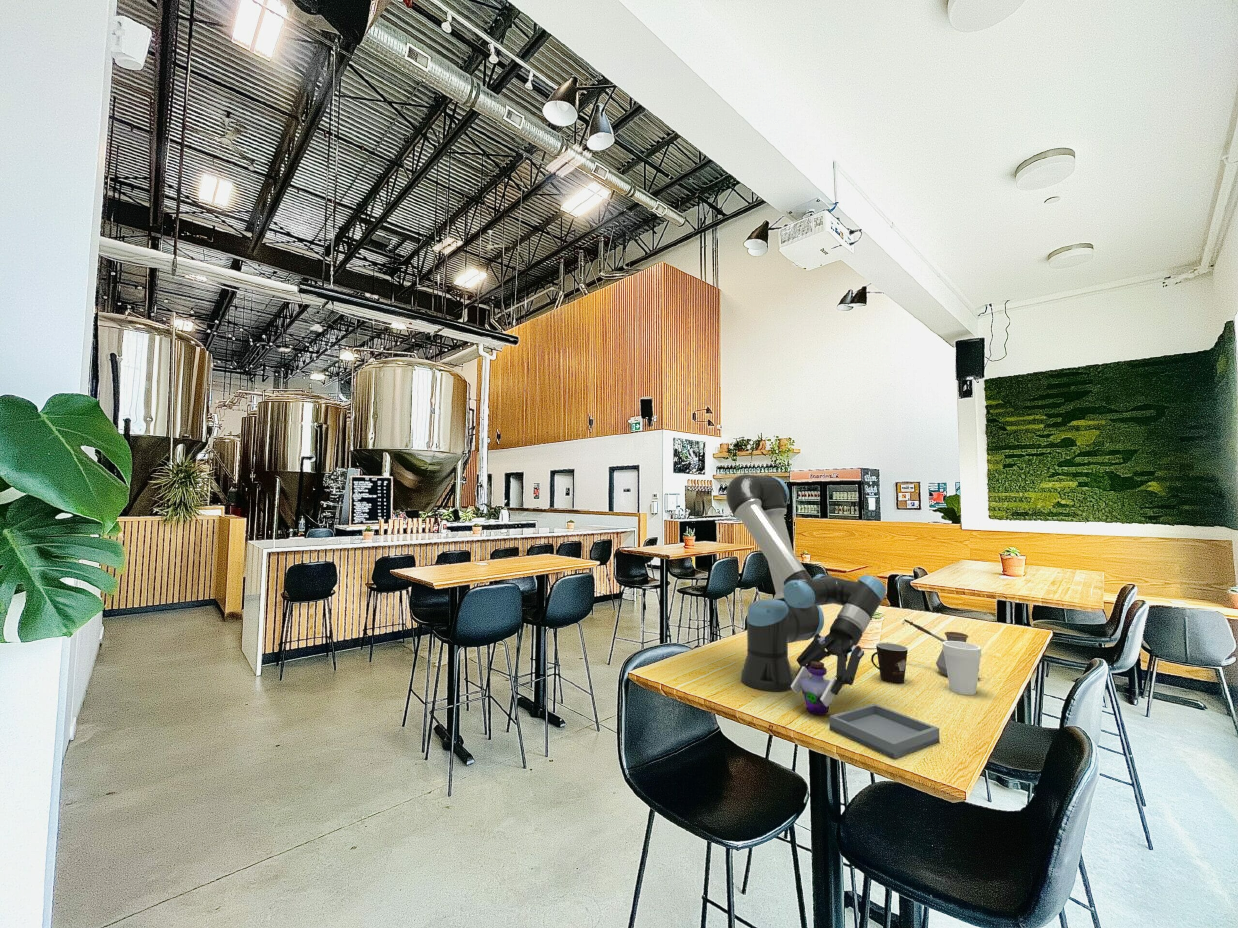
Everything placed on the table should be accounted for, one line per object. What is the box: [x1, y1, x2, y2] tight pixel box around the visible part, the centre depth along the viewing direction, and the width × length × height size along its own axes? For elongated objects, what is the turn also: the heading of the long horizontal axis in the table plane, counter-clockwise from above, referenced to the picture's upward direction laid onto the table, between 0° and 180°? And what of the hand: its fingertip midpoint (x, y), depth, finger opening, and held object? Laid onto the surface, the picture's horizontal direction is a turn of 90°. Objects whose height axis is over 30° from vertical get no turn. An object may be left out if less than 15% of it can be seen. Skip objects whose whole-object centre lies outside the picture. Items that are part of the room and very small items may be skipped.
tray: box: [829, 703, 941, 760], centre depth 120 cm, size 16×17×3 cm
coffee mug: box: [870, 642, 909, 685], centre depth 159 cm, size 12×9×10 cm
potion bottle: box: [800, 661, 832, 716], centre depth 133 cm, size 9×9×12 cm
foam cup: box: [942, 640, 982, 696], centre depth 150 cm, size 10×9×13 cm
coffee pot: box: [901, 618, 970, 677], centre depth 168 cm, size 21×12×15 cm, turn 45°
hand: (808, 696), depth 131 cm, fingers closed on potion bottle, 9 cm apart
